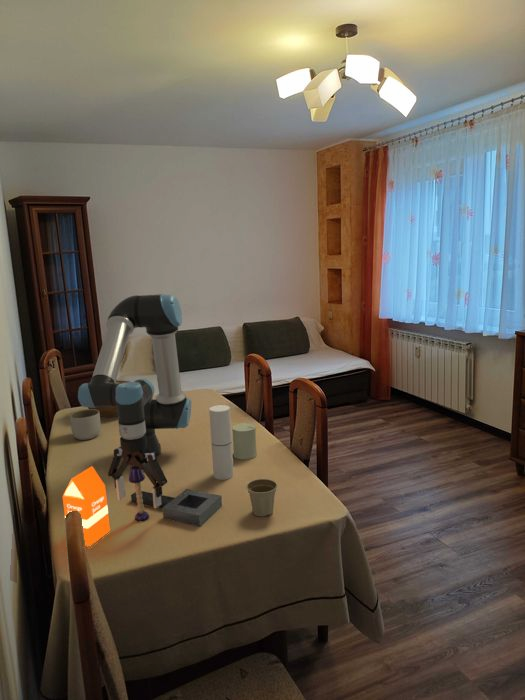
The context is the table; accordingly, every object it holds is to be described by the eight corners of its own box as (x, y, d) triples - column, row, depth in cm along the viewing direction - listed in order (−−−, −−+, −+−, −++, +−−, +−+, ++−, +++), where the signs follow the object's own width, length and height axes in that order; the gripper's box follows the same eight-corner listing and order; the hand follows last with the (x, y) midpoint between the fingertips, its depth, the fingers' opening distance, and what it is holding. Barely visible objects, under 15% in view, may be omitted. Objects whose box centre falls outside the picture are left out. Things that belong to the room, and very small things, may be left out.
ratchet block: (121, 508, 159) (120, 498, 158) (147, 490, 170) (146, 481, 170) (200, 526, 147) (199, 515, 146) (222, 505, 158) (221, 495, 157)
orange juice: (67, 543, 141) (59, 477, 137) (89, 527, 149) (81, 464, 145) (90, 548, 138) (82, 480, 134) (110, 531, 146) (104, 467, 142)
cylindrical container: (218, 481, 175) (213, 412, 170) (210, 473, 181) (206, 407, 176) (236, 476, 178) (233, 409, 173) (228, 469, 184) (225, 403, 180)
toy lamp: (138, 524, 149) (133, 471, 146) (129, 519, 152) (124, 467, 149) (152, 517, 153) (147, 466, 150) (143, 512, 156) (138, 462, 153)
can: (254, 460, 192) (252, 430, 189) (230, 459, 194) (229, 429, 191) (259, 450, 200) (257, 422, 198) (236, 449, 202) (235, 421, 200)
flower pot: (246, 505, 158) (245, 479, 156) (276, 502, 159) (275, 477, 157) (248, 520, 149) (247, 493, 147) (280, 518, 149) (279, 491, 148)
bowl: (99, 407, 266) (96, 380, 263) (144, 408, 262) (142, 380, 259) (75, 424, 242) (72, 393, 239) (125, 424, 238) (122, 393, 235)
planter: (66, 440, 221) (63, 416, 218) (85, 430, 232) (83, 408, 230) (88, 443, 216) (86, 419, 214) (107, 433, 227) (105, 410, 225)
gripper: (91, 434, 149) (98, 500, 153) (160, 445, 139) (165, 515, 143) (108, 426, 156) (115, 489, 160) (175, 435, 145) (180, 503, 150)
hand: (139, 502), depth 152 cm, fingers open, 13 cm apart
